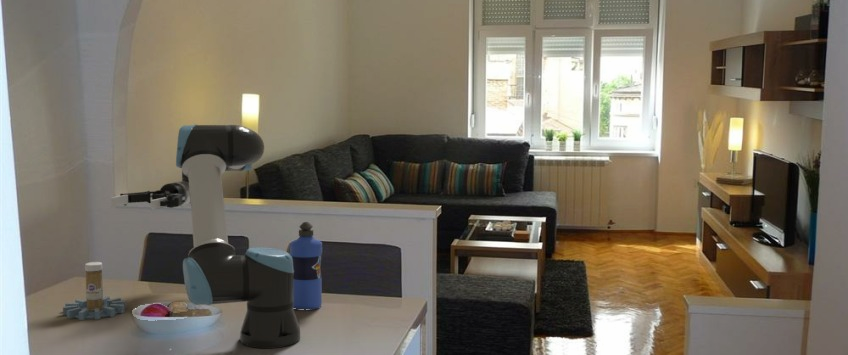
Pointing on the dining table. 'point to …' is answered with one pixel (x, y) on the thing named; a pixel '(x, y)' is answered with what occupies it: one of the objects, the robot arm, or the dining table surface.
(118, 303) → the blue gear trivet
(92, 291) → the sprinkles bottle
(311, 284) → the water bottle
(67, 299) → the dining table surface
